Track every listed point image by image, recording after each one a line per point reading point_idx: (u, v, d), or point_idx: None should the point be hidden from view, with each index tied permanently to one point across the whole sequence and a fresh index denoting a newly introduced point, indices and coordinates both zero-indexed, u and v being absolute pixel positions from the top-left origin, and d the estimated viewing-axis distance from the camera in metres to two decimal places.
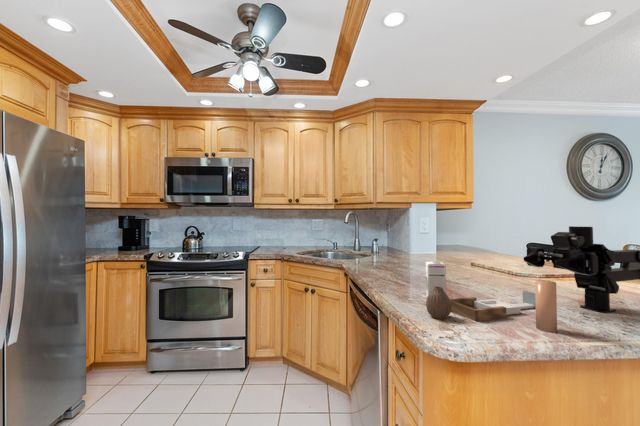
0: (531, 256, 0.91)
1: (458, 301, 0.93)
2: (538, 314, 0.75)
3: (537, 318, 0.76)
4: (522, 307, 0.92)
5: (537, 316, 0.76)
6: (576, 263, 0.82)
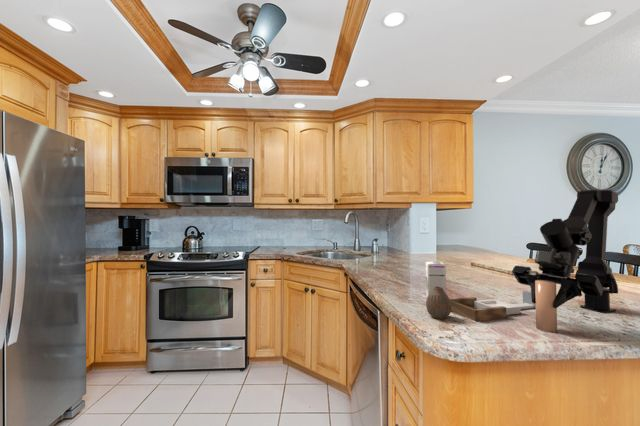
0: None
1: (458, 301, 0.93)
2: (538, 314, 0.75)
3: (537, 318, 0.76)
4: (522, 307, 0.92)
5: (537, 316, 0.76)
6: (568, 289, 0.74)
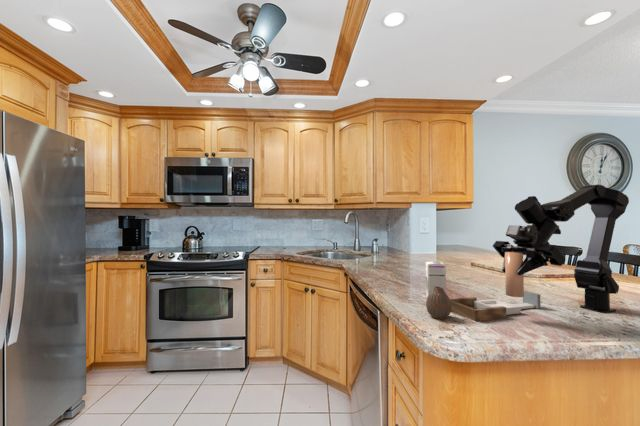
0: None
1: (458, 301, 0.93)
2: (506, 281, 0.84)
3: None
4: (522, 307, 0.92)
5: None
6: (534, 258, 0.81)
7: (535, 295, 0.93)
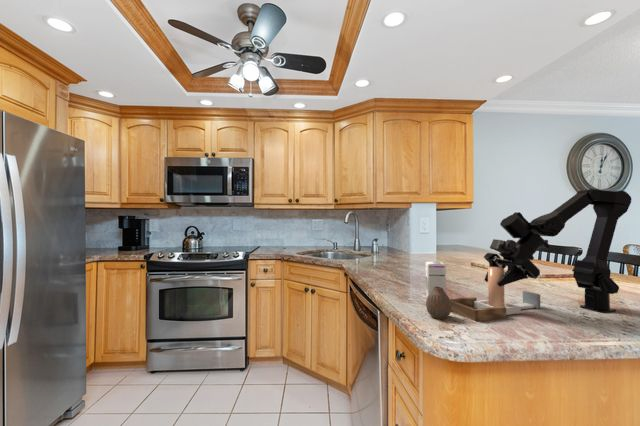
0: None
1: (458, 301, 0.93)
2: (488, 293, 0.92)
3: (488, 297, 0.92)
4: (522, 307, 0.92)
5: (488, 295, 0.92)
6: (516, 271, 0.87)
7: (535, 295, 0.93)
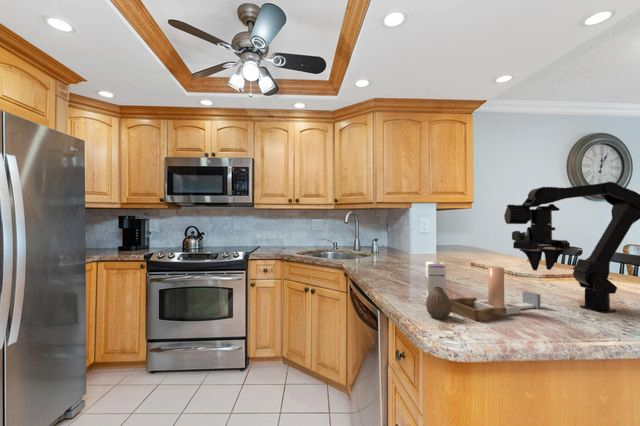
0: (546, 259, 0.99)
1: (458, 301, 0.93)
2: (488, 294, 0.92)
3: (488, 297, 0.92)
4: (522, 307, 0.92)
5: (488, 295, 0.92)
6: (532, 251, 0.96)
7: (535, 295, 0.93)
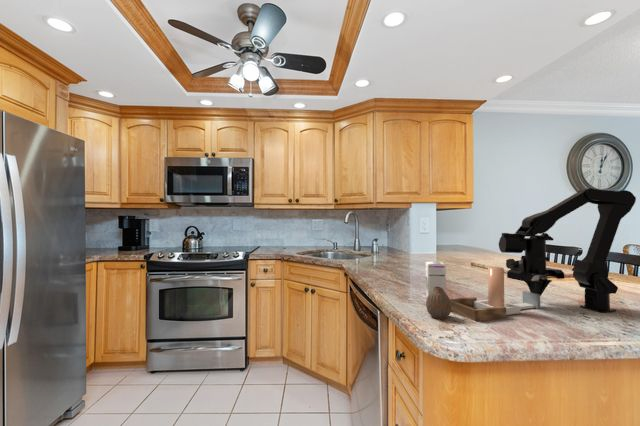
0: None
1: (458, 301, 0.93)
2: (488, 294, 0.92)
3: (488, 297, 0.92)
4: (522, 307, 0.92)
5: (488, 295, 0.92)
6: None
7: (535, 295, 0.93)
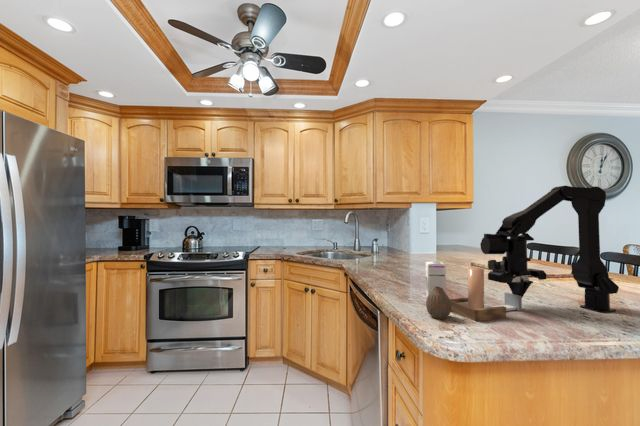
0: None
1: (458, 301, 0.93)
2: (468, 295, 0.90)
3: (468, 299, 0.90)
4: None
5: (468, 297, 0.90)
6: None
7: (516, 297, 0.91)
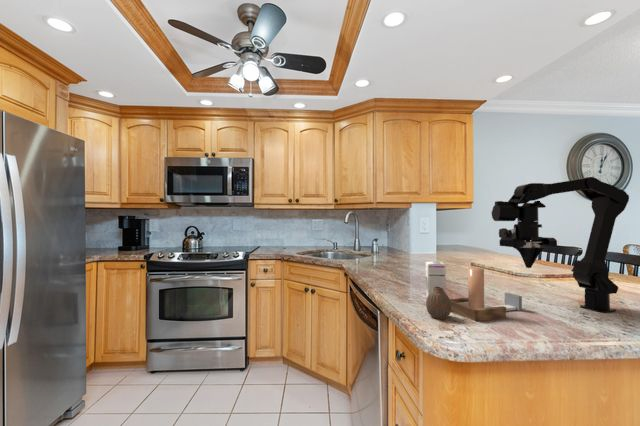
0: None
1: (458, 301, 0.93)
2: (468, 295, 0.90)
3: (468, 299, 0.90)
4: None
5: (468, 297, 0.90)
6: (525, 248, 0.95)
7: (516, 297, 0.91)
